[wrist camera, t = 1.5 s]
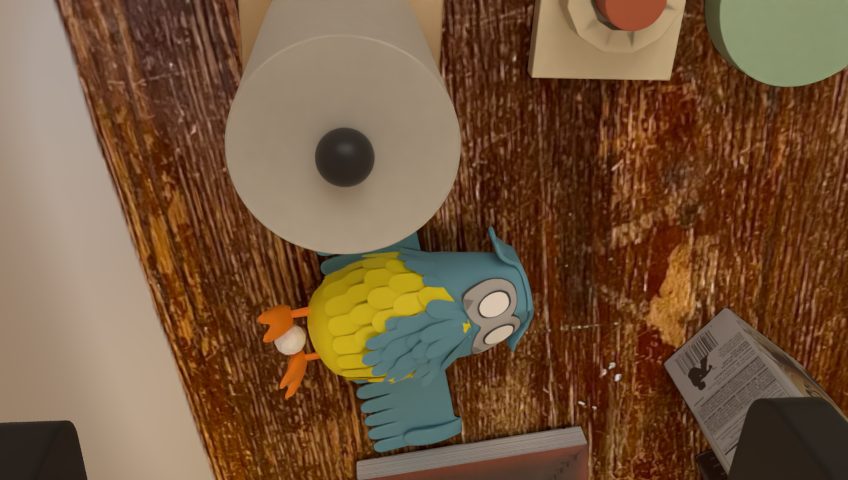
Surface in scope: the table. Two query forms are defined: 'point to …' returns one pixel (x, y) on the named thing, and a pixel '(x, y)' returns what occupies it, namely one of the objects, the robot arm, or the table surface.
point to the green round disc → (781, 38)
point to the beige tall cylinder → (342, 126)
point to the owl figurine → (405, 329)
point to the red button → (631, 12)
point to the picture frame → (490, 459)
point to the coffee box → (734, 379)
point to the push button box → (600, 43)
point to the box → (711, 466)
